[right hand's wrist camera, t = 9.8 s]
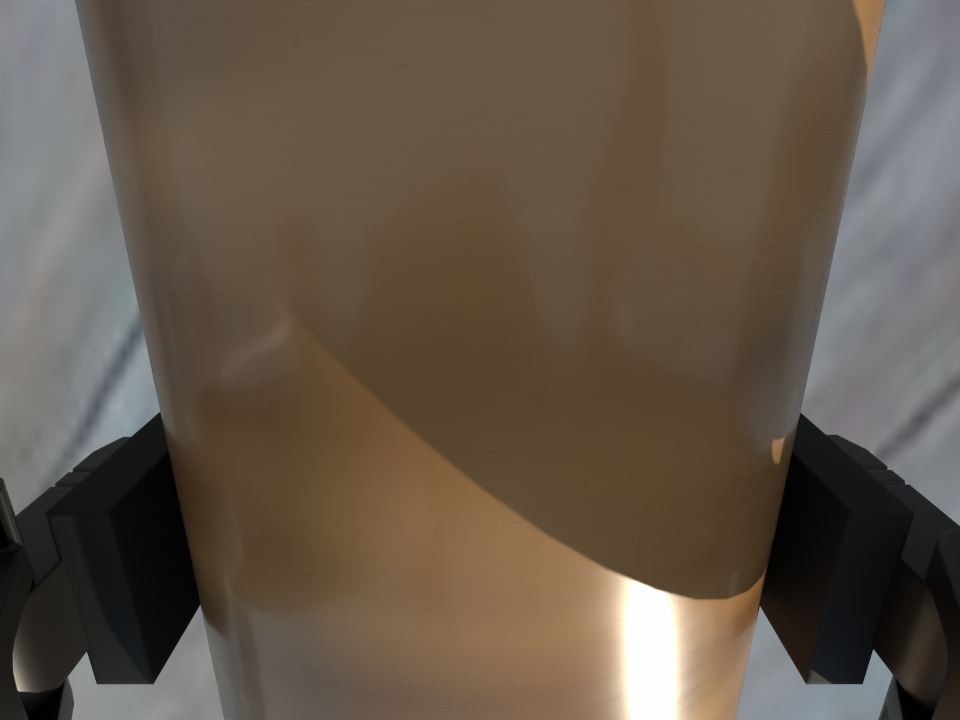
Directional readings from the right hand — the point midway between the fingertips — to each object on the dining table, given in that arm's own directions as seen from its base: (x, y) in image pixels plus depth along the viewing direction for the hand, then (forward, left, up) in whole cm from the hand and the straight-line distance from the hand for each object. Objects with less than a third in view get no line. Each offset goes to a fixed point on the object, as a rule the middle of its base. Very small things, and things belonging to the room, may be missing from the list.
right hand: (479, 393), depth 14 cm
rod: (-2, +10, -1) cm, 11 cm away
